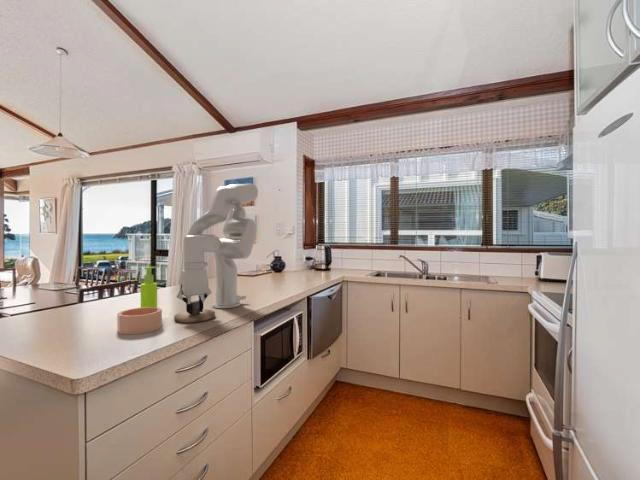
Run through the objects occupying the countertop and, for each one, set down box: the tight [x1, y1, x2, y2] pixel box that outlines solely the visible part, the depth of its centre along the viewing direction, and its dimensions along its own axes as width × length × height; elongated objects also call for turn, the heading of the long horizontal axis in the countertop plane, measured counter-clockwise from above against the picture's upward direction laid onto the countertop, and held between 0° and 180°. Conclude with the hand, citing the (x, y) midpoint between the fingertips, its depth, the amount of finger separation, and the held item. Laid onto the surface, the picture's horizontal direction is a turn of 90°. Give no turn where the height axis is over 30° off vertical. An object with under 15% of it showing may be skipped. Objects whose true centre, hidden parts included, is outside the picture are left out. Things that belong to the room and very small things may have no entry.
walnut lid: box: [173, 300, 216, 324], centre depth 122 cm, size 15×15×6 cm
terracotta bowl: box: [116, 307, 163, 335], centre depth 108 cm, size 13×13×6 cm
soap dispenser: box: [140, 266, 158, 308], centre depth 126 cm, size 6×7×20 cm
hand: (195, 311), depth 122 cm, fingers closed on walnut lid, 3 cm apart
